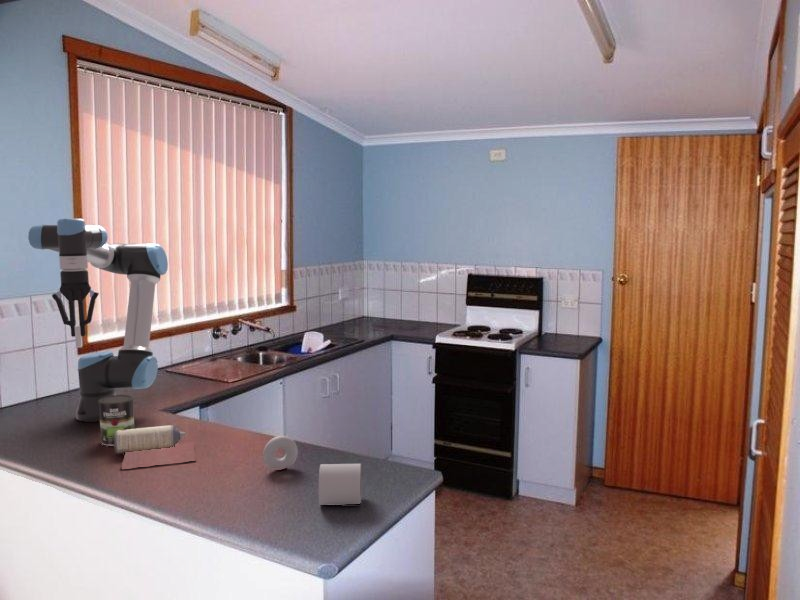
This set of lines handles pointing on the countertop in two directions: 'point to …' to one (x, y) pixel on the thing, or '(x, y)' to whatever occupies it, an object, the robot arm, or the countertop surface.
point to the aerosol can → (146, 438)
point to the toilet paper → (340, 484)
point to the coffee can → (115, 416)
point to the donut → (276, 444)
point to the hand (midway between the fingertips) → (79, 346)
